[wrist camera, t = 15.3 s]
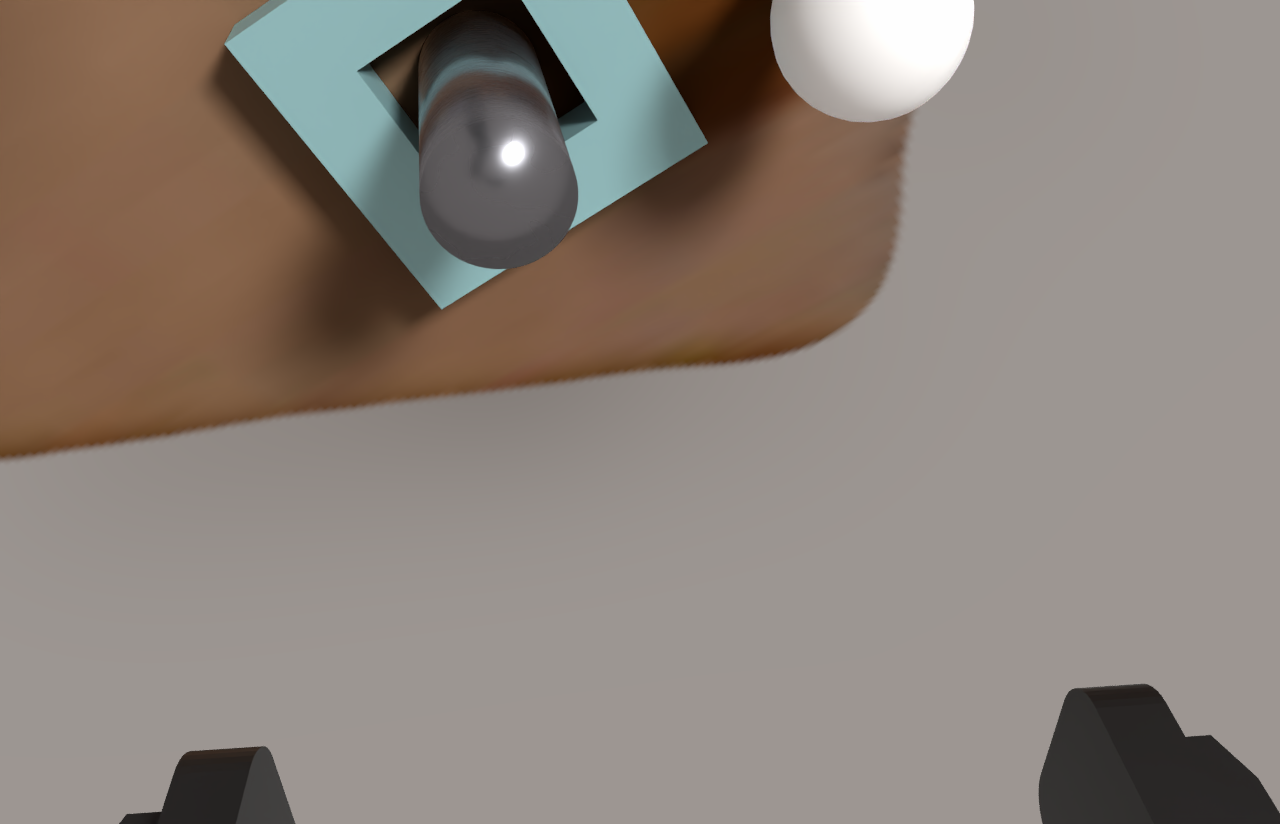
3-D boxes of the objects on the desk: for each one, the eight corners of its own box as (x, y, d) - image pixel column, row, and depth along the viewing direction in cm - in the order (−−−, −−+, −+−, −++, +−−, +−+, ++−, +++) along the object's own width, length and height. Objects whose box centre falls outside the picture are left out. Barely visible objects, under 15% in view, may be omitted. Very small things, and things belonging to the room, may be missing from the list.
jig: (234, 24, 38) (224, 44, 36) (523, -177, 36) (529, -169, 34) (440, 280, 45) (441, 309, 43) (694, 121, 43) (707, 143, 41)
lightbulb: (766, 81, 43) (861, 189, 34) (683, -56, 39) (764, 22, 30) (903, -16, 41) (1040, 68, 32) (829, -165, 38) (958, -119, 29)
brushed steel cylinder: (393, 55, 40) (386, 178, 30) (493, -15, 39) (520, 88, 29) (465, 152, 42) (481, 296, 32) (561, 88, 41) (607, 215, 32)
